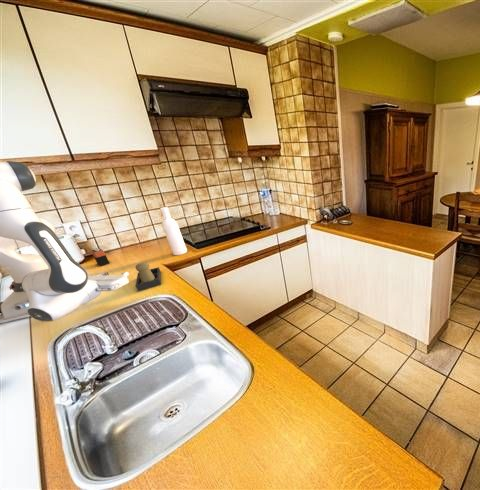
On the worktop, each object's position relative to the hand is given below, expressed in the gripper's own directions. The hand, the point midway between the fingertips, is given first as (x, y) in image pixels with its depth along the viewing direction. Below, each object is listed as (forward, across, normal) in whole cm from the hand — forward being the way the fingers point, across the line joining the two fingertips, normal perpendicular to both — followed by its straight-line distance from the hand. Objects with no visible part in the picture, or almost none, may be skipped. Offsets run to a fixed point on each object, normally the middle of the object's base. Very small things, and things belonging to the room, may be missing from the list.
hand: (117, 273), depth 118 cm
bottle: (+51, +12, +14) cm, 54 cm away
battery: (+38, +52, +14) cm, 66 cm away
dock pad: (+15, +2, +13) cm, 20 cm away
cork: (+12, 0, +12) cm, 17 cm away
